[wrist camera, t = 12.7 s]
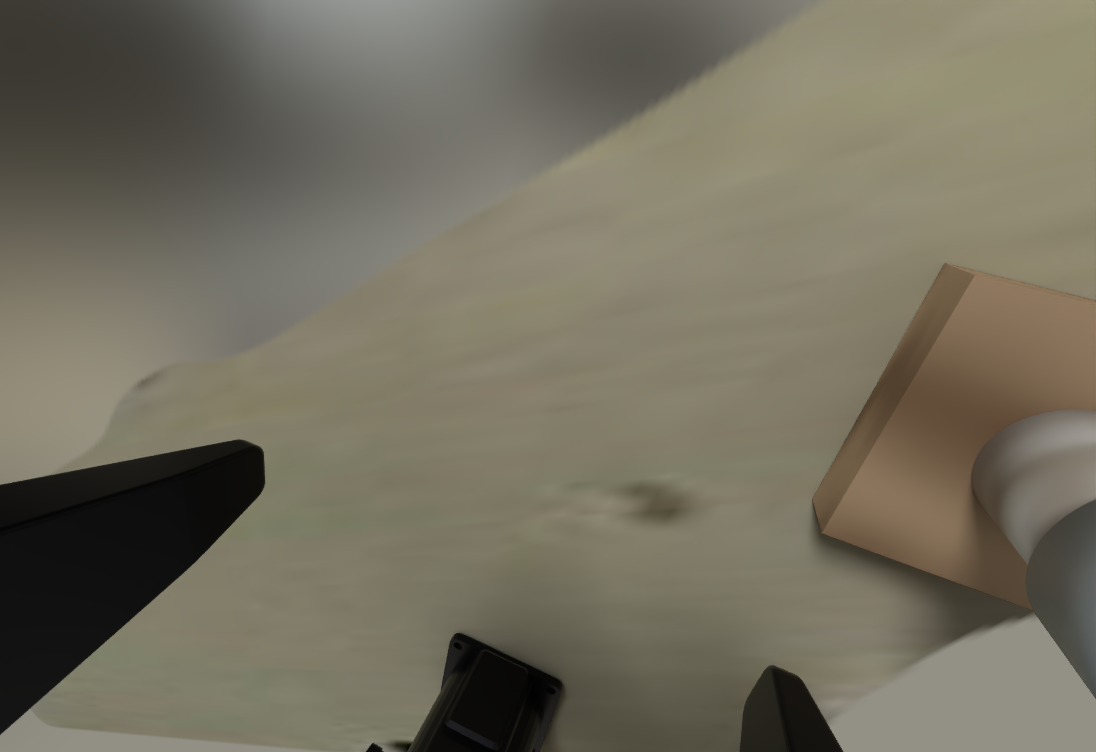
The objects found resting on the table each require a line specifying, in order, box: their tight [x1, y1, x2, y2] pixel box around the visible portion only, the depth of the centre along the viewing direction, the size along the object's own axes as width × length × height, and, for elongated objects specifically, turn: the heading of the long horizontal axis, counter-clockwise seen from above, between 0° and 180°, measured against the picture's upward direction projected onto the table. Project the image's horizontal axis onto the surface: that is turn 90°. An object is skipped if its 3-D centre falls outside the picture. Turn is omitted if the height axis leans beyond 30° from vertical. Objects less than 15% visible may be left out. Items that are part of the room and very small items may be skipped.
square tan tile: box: [812, 263, 1096, 611], centre depth 13 cm, size 9×9×6 cm
